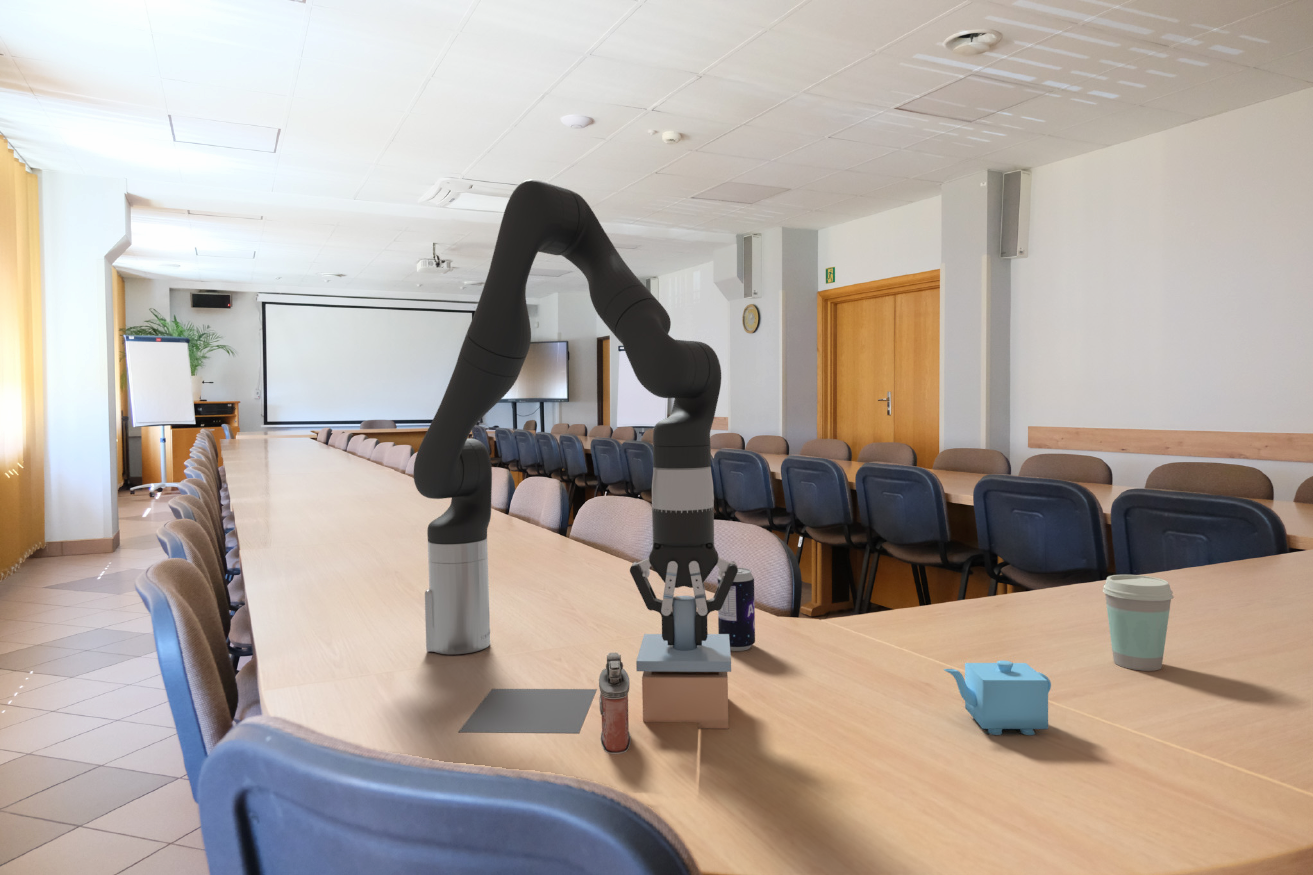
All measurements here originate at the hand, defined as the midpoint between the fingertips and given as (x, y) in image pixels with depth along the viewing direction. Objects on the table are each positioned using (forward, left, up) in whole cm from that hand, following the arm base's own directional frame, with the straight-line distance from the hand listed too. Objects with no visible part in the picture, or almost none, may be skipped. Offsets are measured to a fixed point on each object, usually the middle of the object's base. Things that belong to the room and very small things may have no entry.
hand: (685, 643), depth 97 cm
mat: (-19, -2, -9) cm, 21 cm away
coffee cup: (+63, +18, -9) cm, 66 cm away
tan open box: (0, 0, -9) cm, 9 cm away
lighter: (-8, -10, -9) cm, 15 cm away
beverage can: (+7, +26, -9) cm, 29 cm away
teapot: (+36, -4, -9) cm, 37 cm away
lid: (0, 0, -2) cm, 2 cm away
